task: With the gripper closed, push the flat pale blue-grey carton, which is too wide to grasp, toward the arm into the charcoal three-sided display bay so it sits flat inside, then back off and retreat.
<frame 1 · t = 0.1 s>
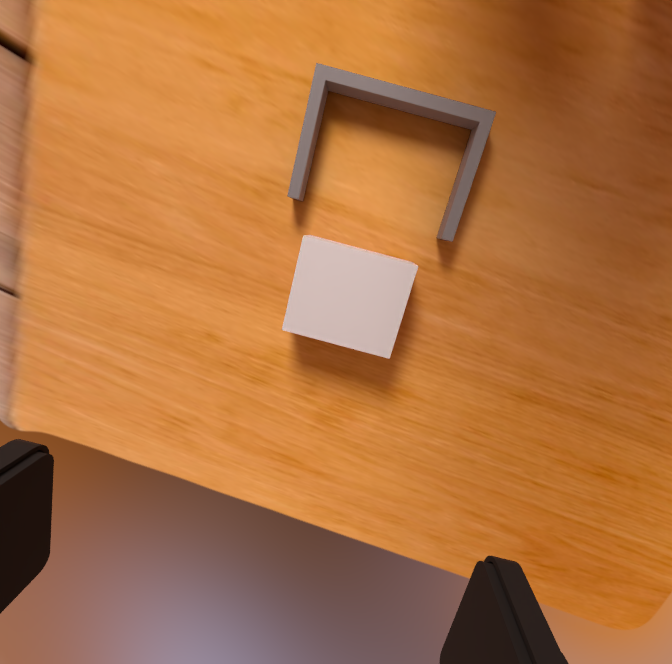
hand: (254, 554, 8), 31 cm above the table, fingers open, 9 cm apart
display bay: (385, 161, 35), on the table
carton: (350, 290, 38), on the table
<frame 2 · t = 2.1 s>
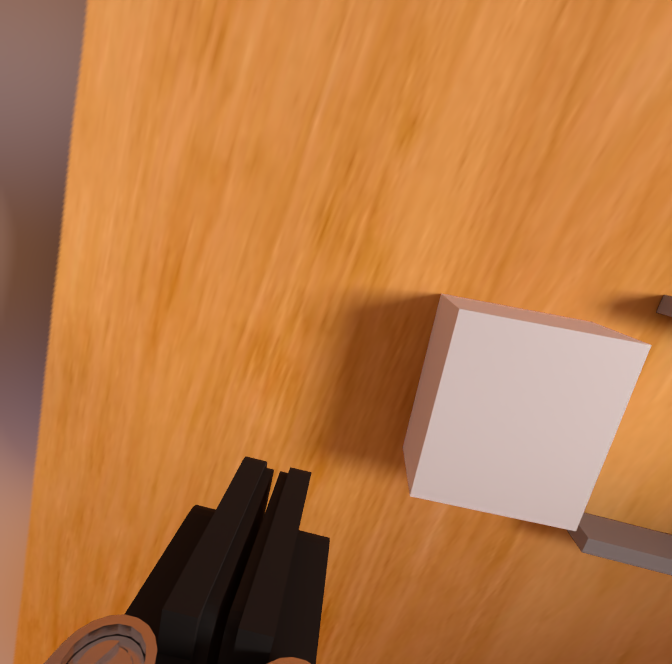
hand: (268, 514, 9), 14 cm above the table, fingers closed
carton: (490, 387, 23), on the table
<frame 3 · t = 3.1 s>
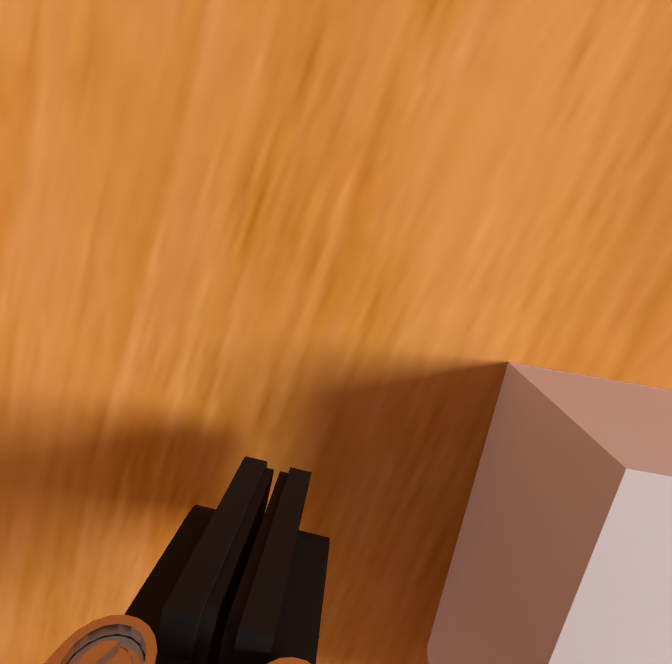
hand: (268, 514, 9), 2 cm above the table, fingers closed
carton: (604, 541, 11), on the table
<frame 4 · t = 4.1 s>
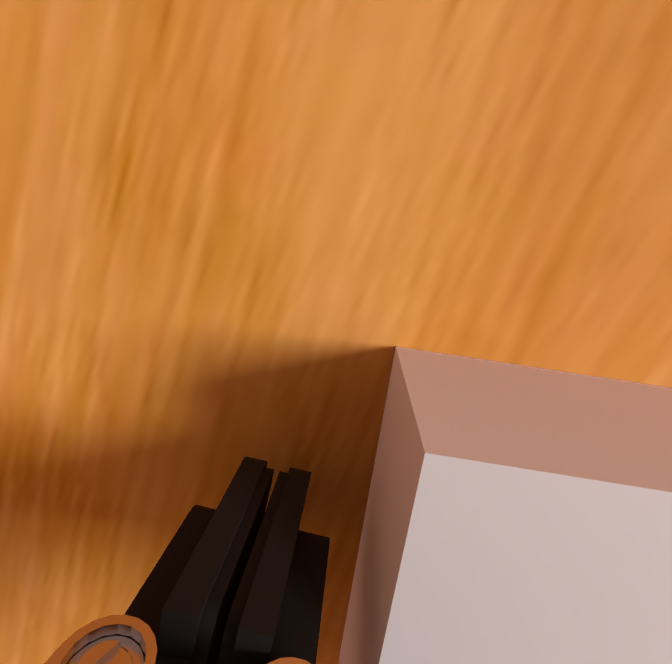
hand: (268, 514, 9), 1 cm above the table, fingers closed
carton: (515, 536, 11), on the table, touching gripper
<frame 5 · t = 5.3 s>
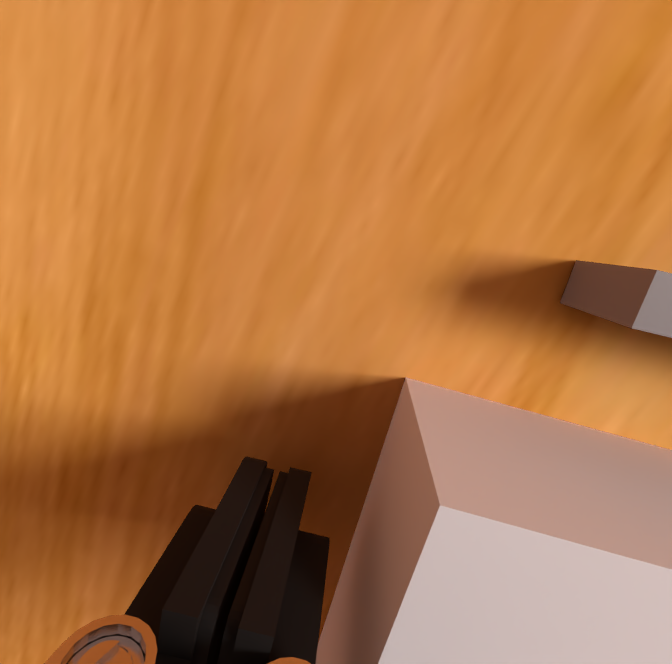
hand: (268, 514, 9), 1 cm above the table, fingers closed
display bay: (661, 577, 10), on the table
carton: (495, 568, 11), on the table, touching gripper
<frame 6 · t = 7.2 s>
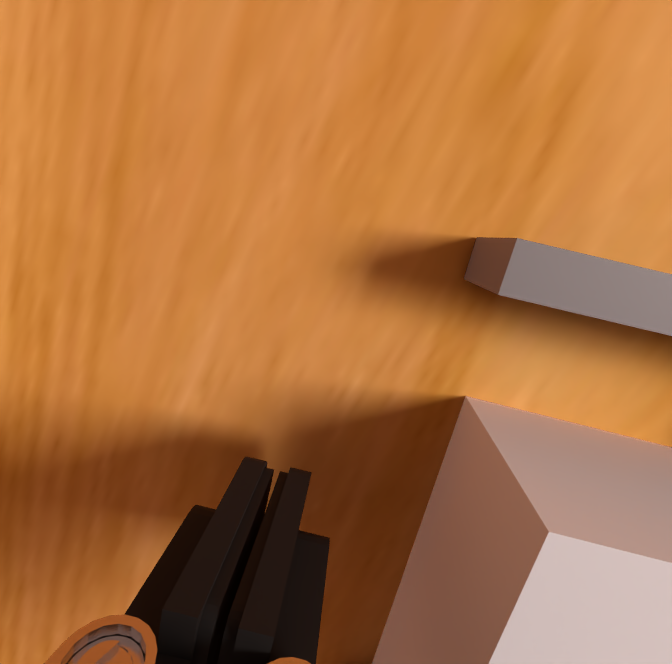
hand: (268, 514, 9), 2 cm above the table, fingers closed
display bay: (575, 548, 11), on the table
carton: (549, 577, 11), on the table
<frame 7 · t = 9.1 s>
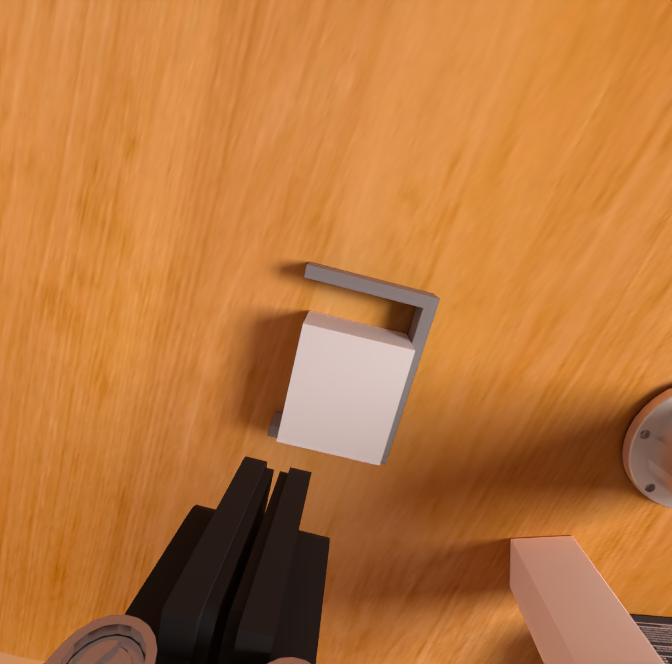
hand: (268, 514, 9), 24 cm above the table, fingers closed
display bay: (348, 360, 34), on the table
milk: (538, 559, 39), on the table
carton: (344, 374, 34), on the table
small box: (625, 634, 41), on the table
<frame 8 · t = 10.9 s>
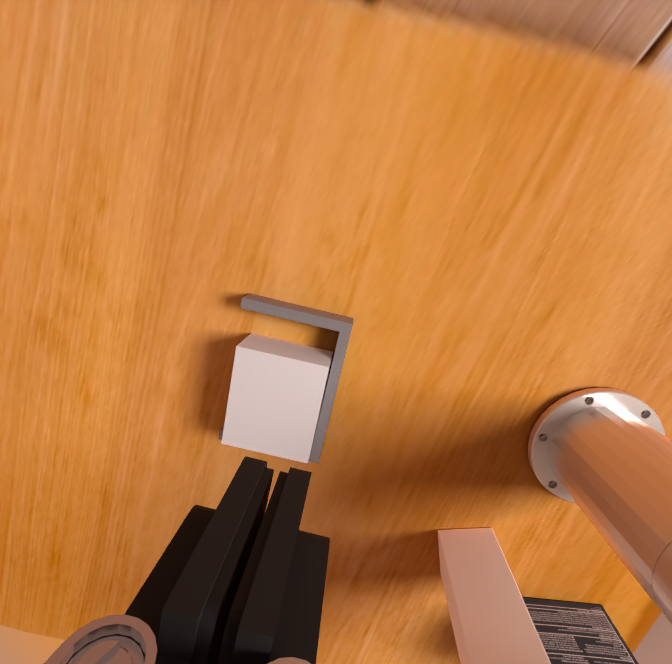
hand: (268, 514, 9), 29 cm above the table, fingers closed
display bay: (287, 375, 40), on the table
milk: (465, 549, 44), on the table
carton: (284, 386, 40), on the table
small box: (549, 619, 45), on the table
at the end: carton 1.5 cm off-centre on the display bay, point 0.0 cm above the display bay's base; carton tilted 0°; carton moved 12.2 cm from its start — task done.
